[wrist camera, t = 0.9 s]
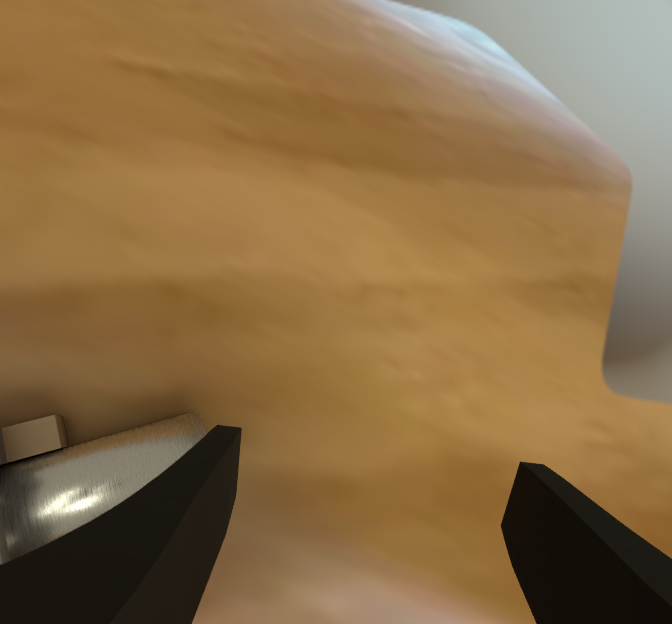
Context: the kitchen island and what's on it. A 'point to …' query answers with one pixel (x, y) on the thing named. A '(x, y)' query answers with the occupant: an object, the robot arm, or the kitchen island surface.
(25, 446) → the bearing block
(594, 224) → the kitchen island surface
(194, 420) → the axle
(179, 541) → the robot arm
